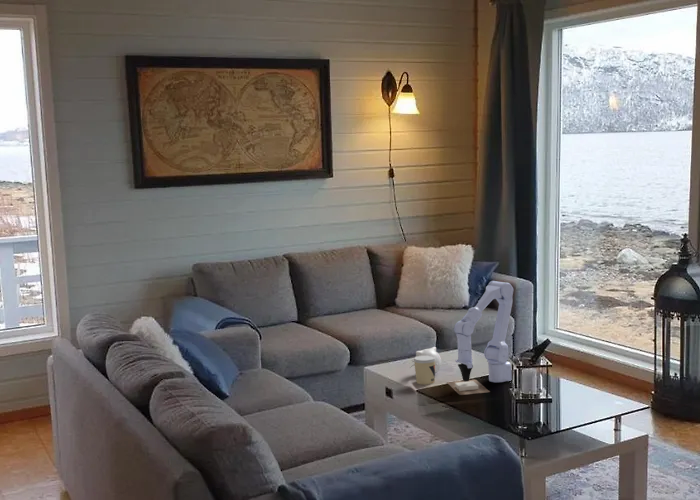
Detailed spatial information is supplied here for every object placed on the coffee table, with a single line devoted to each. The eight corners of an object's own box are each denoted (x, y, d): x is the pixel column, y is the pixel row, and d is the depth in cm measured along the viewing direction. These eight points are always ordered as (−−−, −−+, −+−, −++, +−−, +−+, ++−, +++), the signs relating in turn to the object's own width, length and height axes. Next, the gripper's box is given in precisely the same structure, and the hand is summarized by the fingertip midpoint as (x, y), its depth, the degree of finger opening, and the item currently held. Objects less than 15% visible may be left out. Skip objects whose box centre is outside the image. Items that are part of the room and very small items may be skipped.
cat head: (426, 381, 351) (424, 354, 350) (407, 376, 362) (405, 350, 361) (451, 374, 360) (449, 348, 359) (431, 369, 371) (430, 344, 369)
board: (475, 382, 345) (475, 379, 345) (490, 394, 326) (490, 391, 326) (446, 385, 344) (446, 382, 344) (459, 397, 324) (459, 395, 324)
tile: (473, 381, 337) (478, 385, 330) (473, 385, 337) (478, 389, 330) (455, 382, 336) (459, 387, 329) (455, 386, 336) (459, 391, 329)
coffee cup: (435, 387, 341) (434, 360, 340) (414, 387, 343) (412, 360, 341) (437, 381, 350) (436, 355, 349) (416, 381, 352) (414, 355, 350)
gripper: (450, 346, 338) (452, 377, 340) (460, 354, 324) (461, 386, 325) (466, 345, 339) (468, 375, 341) (476, 352, 325) (478, 384, 326)
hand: (466, 380), depth 333 cm, fingers closed
